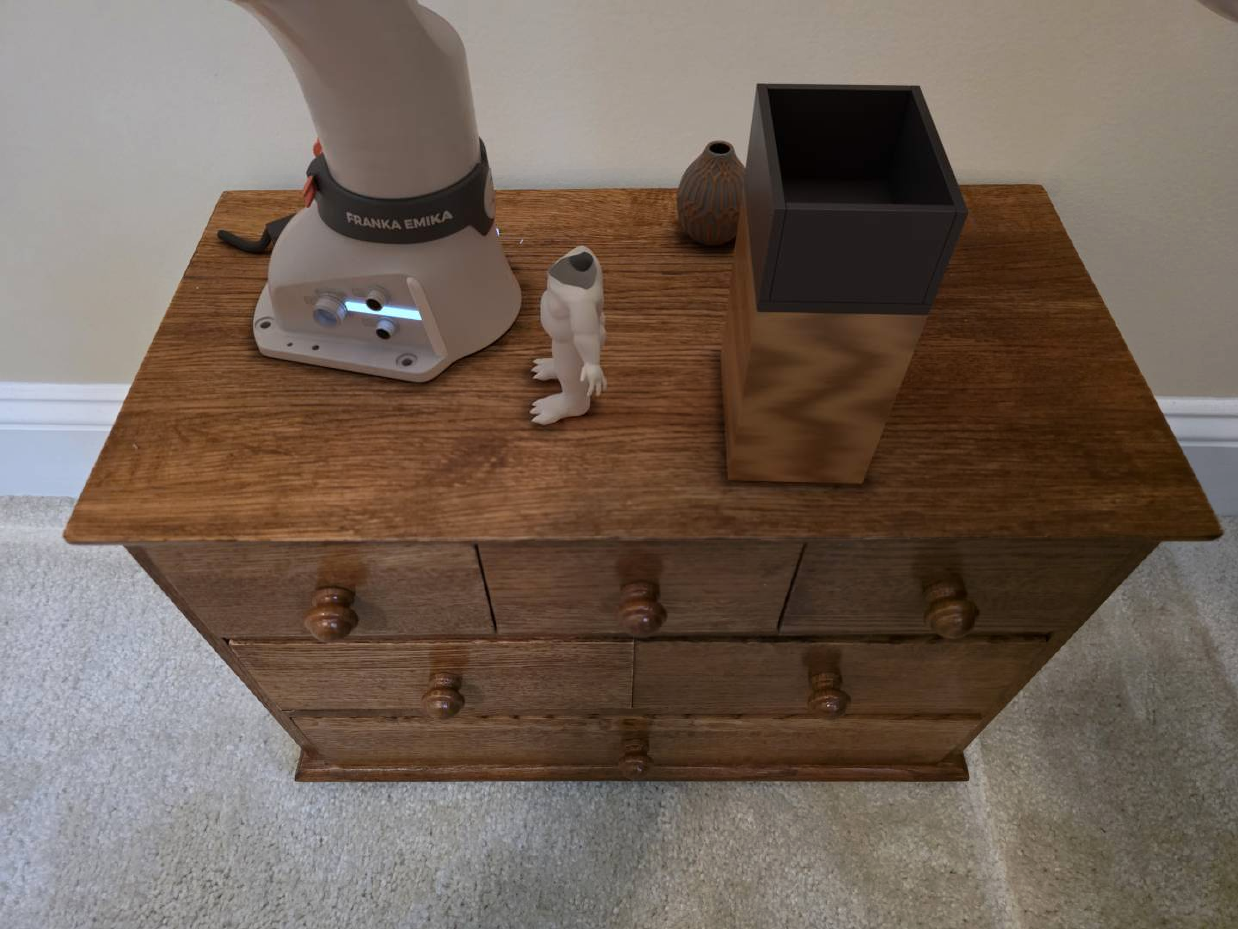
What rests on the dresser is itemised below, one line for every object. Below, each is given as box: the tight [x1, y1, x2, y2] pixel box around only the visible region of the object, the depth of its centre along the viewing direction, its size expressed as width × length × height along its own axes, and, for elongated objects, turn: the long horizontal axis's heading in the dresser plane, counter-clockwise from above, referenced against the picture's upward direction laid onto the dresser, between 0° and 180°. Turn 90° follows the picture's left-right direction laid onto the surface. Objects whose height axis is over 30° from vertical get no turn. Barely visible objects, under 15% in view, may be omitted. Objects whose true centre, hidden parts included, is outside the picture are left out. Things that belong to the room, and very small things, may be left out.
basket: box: [743, 82, 970, 316], centre depth 47 cm, size 10×13×7 cm
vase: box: [676, 140, 746, 246], centre depth 73 cm, size 7×7×9 cm
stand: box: [719, 185, 929, 485], centre depth 56 cm, size 10×13×16 cm
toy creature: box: [529, 245, 608, 426], centre depth 59 cm, size 12×6×12 cm, turn 3°
